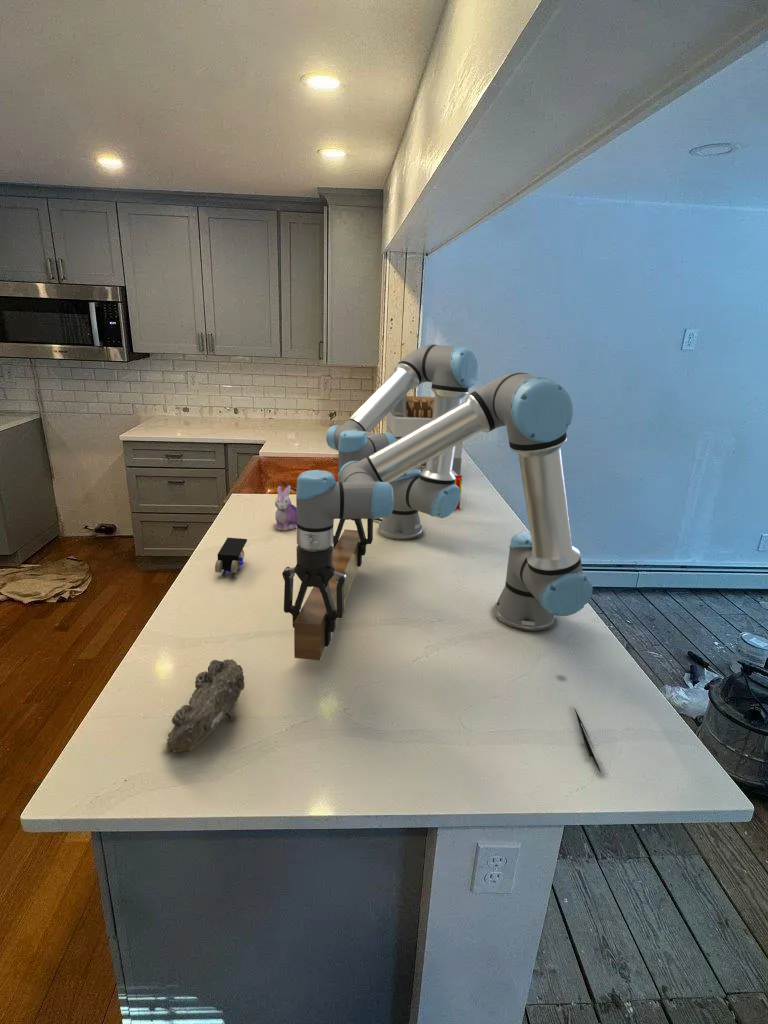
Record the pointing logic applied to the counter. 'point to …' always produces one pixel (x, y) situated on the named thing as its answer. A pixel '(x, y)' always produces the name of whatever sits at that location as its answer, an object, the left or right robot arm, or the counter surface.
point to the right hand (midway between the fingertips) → (314, 641)
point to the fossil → (206, 705)
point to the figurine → (285, 510)
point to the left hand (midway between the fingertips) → (349, 563)
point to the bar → (314, 611)
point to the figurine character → (230, 556)
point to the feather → (587, 741)
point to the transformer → (416, 421)
